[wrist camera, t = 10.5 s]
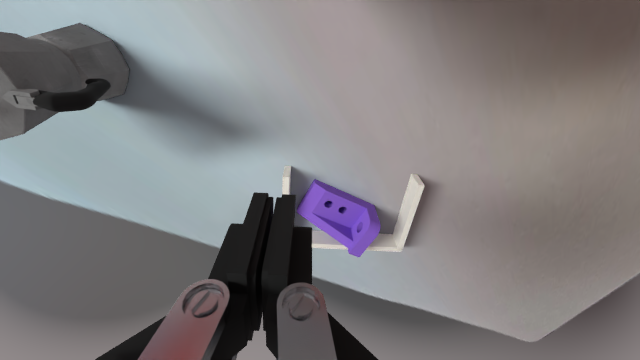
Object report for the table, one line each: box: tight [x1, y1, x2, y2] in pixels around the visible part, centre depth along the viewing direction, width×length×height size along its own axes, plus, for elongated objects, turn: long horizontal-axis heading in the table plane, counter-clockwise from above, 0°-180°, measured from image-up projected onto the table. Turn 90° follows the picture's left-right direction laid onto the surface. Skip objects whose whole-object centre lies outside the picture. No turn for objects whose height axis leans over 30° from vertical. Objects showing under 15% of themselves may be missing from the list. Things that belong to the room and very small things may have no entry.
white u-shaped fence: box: [283, 166, 425, 252], centre depth 45 cm, size 14×22×4 cm, turn 85°
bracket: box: [297, 179, 380, 257], centre depth 44 cm, size 12×7×7 cm, turn 62°
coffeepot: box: [0, 23, 130, 140], centre depth 27 cm, size 15×9×18 cm, turn 81°
